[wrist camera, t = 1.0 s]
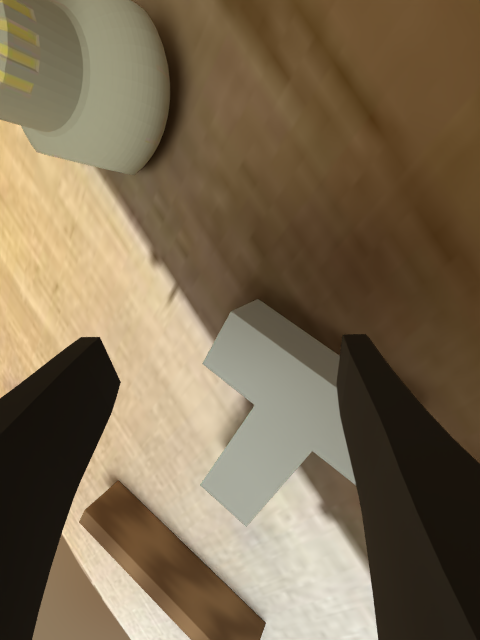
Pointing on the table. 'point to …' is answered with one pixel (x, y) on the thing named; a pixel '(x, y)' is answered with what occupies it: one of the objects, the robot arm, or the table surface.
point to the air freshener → (84, 80)
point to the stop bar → (168, 569)
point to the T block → (274, 407)
